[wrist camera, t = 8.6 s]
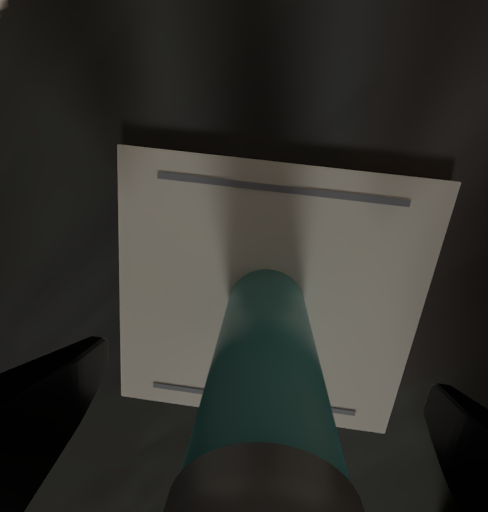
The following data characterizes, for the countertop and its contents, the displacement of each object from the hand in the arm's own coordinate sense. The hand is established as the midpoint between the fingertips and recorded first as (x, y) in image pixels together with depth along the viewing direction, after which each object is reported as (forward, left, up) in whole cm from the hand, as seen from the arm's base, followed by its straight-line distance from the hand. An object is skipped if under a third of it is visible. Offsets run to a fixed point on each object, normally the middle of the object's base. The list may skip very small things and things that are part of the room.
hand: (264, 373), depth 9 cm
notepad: (0, 0, -5) cm, 5 cm away
